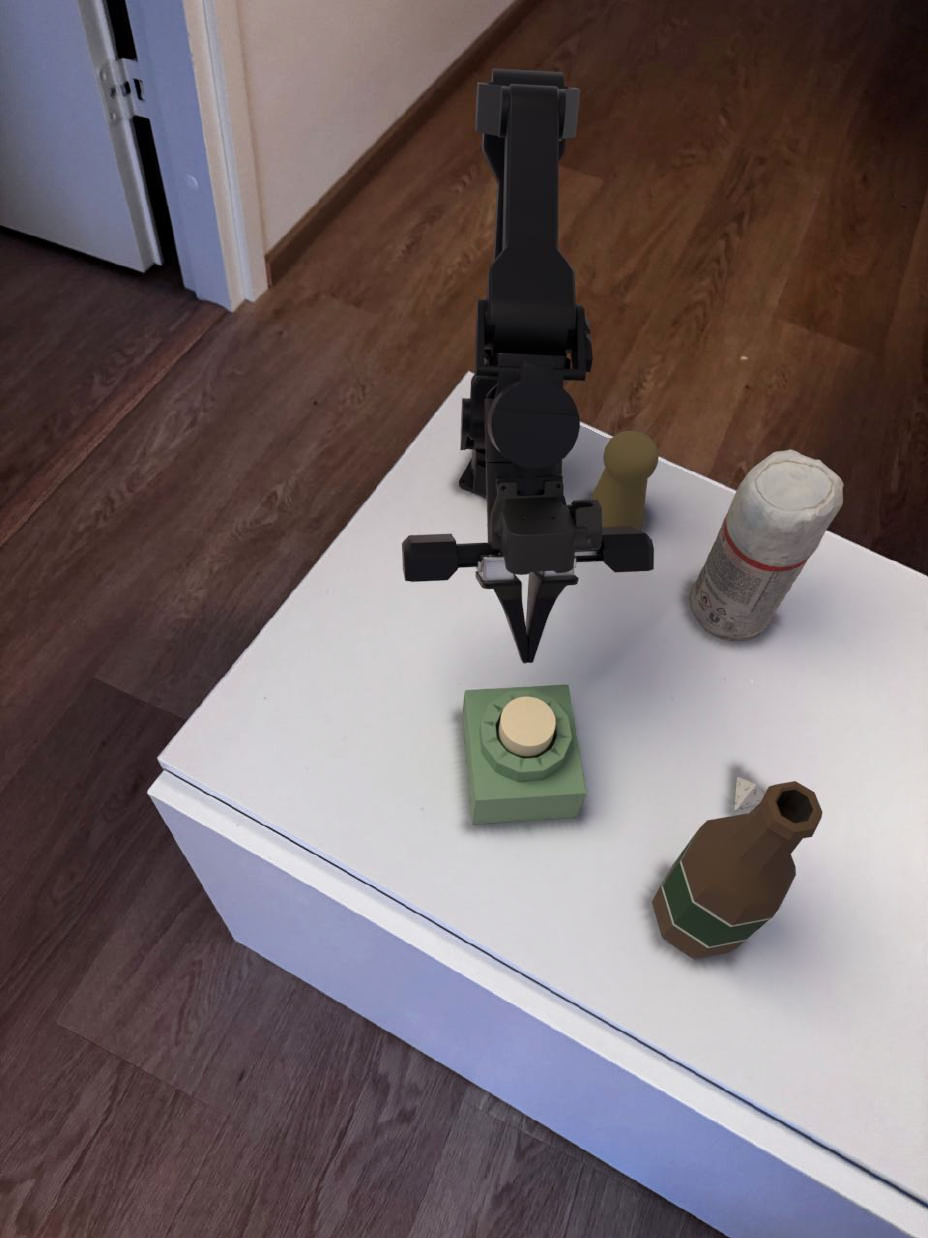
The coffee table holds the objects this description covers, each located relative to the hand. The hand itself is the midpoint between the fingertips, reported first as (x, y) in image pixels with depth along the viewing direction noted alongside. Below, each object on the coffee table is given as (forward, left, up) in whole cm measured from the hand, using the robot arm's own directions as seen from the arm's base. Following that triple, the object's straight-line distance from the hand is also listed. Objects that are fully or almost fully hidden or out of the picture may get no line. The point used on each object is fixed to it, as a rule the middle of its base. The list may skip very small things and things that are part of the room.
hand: (527, 662), depth 76 cm
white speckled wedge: (-3, +21, -13) cm, 25 cm away
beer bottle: (+9, +20, -13) cm, 25 cm away
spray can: (-21, +15, -13) cm, 29 cm away
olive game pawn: (-27, +1, -13) cm, 30 cm away
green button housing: (+3, +2, -13) cm, 13 cm away
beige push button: (+3, +2, -6) cm, 6 cm away
